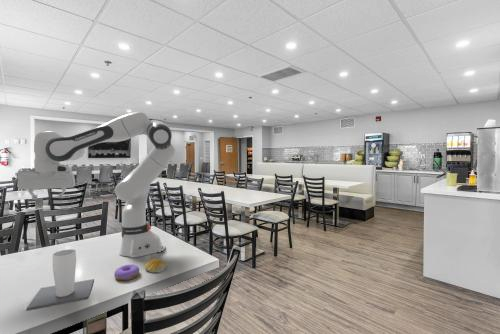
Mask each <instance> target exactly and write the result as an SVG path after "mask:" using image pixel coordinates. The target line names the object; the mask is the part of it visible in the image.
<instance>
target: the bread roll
mask: <svg viewBox="0 0 500 334" xmlns="http://www.w3.org/2000/svg"><path fill="white" fill-rule="evenodd" d="M144 269H145V271H146V272H149V273H150V274H151V273H153V274H154V273H155V274H156V273H161V272H162V271H164V270H165V269H167V263H166V262H165V261H164V260H162V259H161V260H160V259H158V258H154V259H150V260H149V261H147V262H146V264H145V267H144Z"/></svg>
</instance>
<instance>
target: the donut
mask: <svg viewBox="0 0 500 334" xmlns="http://www.w3.org/2000/svg"><path fill="white" fill-rule="evenodd" d="M139 273H140V268H139V266H138V265H136V264H131V263H130V264H125V265H121V266H120V267H118V268H116V270H115V271H114V272H113V274H114V278H115V279H116V280H119V281H129V280H131V279H134V278H136V277H137V276H138V274H139Z"/></svg>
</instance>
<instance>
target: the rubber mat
mask: <svg viewBox="0 0 500 334" xmlns="http://www.w3.org/2000/svg"><path fill="white" fill-rule="evenodd" d="M94 281H95V279H93V278H92V279H87V280H81V281H75V282H74V292H73V293H72V294H70V295H68V296H65V297H57V296H56V289H55V285H51V286H45V287H40V288H39V290H37V293H36V294H35V296H34V297H33V298H32V299H31V301H30V303H28V305H27V307H26V310H25V311H29V310H28V309H30V310H34V309H33V308H35V309H40V308H44V307H50V306H55V305H59V304H60V305H61V304H66V303H70V302H74V301H81V300H85V299H89V298H90V297H89V296H90V293H91V290H92V288H93V285H94Z"/></svg>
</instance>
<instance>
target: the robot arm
mask: <svg viewBox="0 0 500 334" xmlns="http://www.w3.org/2000/svg"><path fill="white" fill-rule="evenodd" d="M172 134H173V133H172V130H171V129H170V126H169V125H168V124H167V123H166V122H165V121H163V120H162V119H161V120H160V119H154V118H153V119H152V118H150V117H148V116H147V114H146V113H144V112H143V111H135V112H134V111H133V112H131V113H127V114H124V115H121V116H118V117H116V118H114V119H111V120H109V121H107V122H105V123H103V124H101V125H99V126H97V127H95V128H92V129H89V130H86V131H83V132H81V133H78V134H75V135H71V136H64V135H62V134H60V133H59V132H57V131H55V130H54V131H52V130H50V131H49V130H48V131H47V130H46V131H40V132H37V133H36V134H35V137H34V141H33V152H34V155H35V157H34V159H33V160H34V161H33V162H34V163H33V164H34V166H33V167H22V168H20V169H18V170H17V173H16V174H17V177H18V180H17V188H18V189H19V190H27V191H28V193H29V194H30V196H31V199H32V200H37V199H38V194H35V190H42V189H43V190H44V189H61V193H58V199H63V198H64V194H65V192H66V191H67V189H70V188H74V187H75V186H76V179H75V177H76V176H75V174H74V172H72V171H73V167H72V166H71V165H66V164H62V163H61V162H65V161H66V162H67V161H76V160H79V159H81V158H82V157H83V156H84V153H85V149H86V148H89V147H91V146H94V145H97V144H101V143H119V142H123V141H127V140H130V139H132V138H134V137H137V136H141V135H145V136H147V137H148V139H149V141H150V142H151V144H152V145H153V147H152V148H151V150H150V151H149V152H148V154H147V155H145V157H144V158H143V160H142V161H141V162H139V164H138V165H137V166H136V167H135V168H134V169H133V170H132V171H130V172H129V173H128V174H127V175H126V176H125V178H123V179H122V180H121V181H119V182H118V183H117V184H116V186H115V188H114V193H115V196H116V197H117V198H118V199H119V200H120V201H124V202H125V204H124V207H123V209H122V214H121V216H122V218H121V219H122V225H121V231H120V232H121V235H120V236H121V245H120V250H119V253H118V254H119V255H120V256H122V257H130V258H132V259H133V258H139V257H144V256H150V255H153V254H157V252H159V253H161V251H163V250H164V249H165V250H166V245H165V244H164V243H163V242H161V238H160V236H159V235H158V234H157V233H155V232H153V230H151V229H152V227H151V225H150V224H149V223H146V213H147V212H146V209H147V202H148V196H149V192H150V189H151V184H152V182H154V181H156V179H157V178H158V177H159V176H160V174H161V173H162V172H163V171H164V170H165V169H166V167H167V166H168V164H169V163H170V162H171V160H172V159H173V157H174V156H175V152H176V149H175V147H174V145H173V144H172V143H171V142H172V137H173V136H172ZM165 250H164V251H165ZM164 251H163V252H164Z"/></svg>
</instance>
